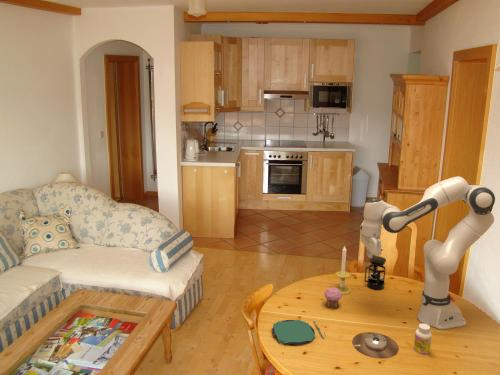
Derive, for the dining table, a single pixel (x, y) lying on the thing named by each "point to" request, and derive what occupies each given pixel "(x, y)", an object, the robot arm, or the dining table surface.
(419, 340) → the supplement bottle
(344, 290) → the candle
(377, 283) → the french press
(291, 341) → the cutlery set
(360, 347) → the platter
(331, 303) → the cupcake
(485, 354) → the dining table surface
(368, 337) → the cover
